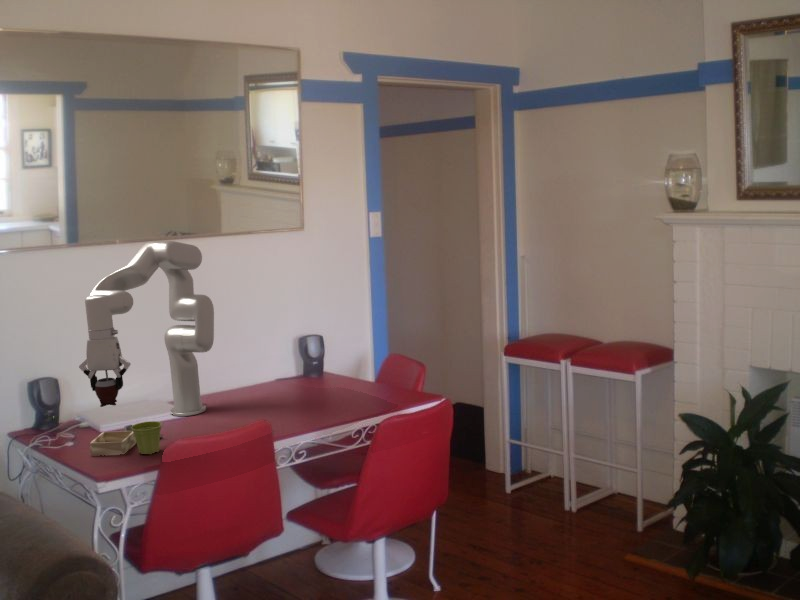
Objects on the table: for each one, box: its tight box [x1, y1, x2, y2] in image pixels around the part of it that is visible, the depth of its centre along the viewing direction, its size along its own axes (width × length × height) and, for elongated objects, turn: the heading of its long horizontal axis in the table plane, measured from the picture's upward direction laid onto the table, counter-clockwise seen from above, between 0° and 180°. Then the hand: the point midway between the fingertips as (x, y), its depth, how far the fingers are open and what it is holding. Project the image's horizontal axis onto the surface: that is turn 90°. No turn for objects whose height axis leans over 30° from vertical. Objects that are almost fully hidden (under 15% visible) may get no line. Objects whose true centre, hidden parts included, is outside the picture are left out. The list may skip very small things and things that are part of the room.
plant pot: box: [131, 420, 163, 455], centre depth 295 cm, size 9×9×9 cm
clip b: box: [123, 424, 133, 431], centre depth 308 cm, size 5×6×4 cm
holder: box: [89, 430, 137, 457], centre depth 300 cm, size 12×11×4 cm
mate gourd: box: [94, 370, 120, 408], centre depth 296 cm, size 8×8×15 cm
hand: (107, 388), depth 297 cm, fingers closed on mate gourd, 7 cm apart
